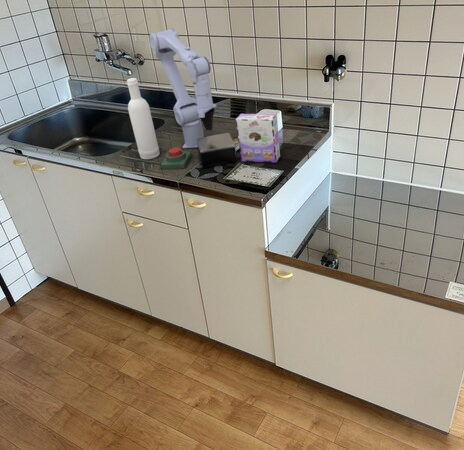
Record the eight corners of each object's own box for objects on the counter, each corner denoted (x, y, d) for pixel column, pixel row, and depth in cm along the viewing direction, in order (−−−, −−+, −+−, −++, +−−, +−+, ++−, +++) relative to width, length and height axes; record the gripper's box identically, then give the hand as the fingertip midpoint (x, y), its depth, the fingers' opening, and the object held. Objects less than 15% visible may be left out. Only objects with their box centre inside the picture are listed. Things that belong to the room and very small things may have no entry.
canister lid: (235, 147, 167) (235, 145, 167) (200, 153, 166) (200, 151, 165) (229, 134, 178) (228, 132, 178) (196, 140, 176) (196, 138, 176)
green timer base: (169, 156, 182) (167, 147, 180) (191, 155, 181) (190, 146, 179) (161, 169, 173) (159, 160, 171) (184, 168, 172) (183, 159, 170)
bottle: (141, 152, 188) (122, 77, 172) (160, 149, 188) (143, 74, 172) (139, 160, 181) (119, 83, 165) (159, 158, 182) (141, 80, 165)
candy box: (280, 156, 172) (277, 113, 163) (276, 163, 167) (272, 119, 158) (245, 154, 176) (240, 112, 167) (240, 161, 172) (234, 118, 163)
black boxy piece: (237, 162, 171) (234, 146, 168) (203, 168, 170) (200, 152, 166) (231, 149, 181) (229, 134, 178) (199, 155, 180) (196, 140, 176)
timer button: (171, 152, 177) (170, 147, 176) (182, 151, 177) (181, 147, 176) (168, 157, 174) (167, 152, 173) (179, 156, 173) (178, 152, 172)
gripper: (209, 99, 159) (215, 136, 166) (218, 86, 171) (223, 121, 178) (189, 100, 160) (196, 137, 168) (199, 87, 172) (205, 122, 179)
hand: (209, 129), depth 173 cm, fingers closed
